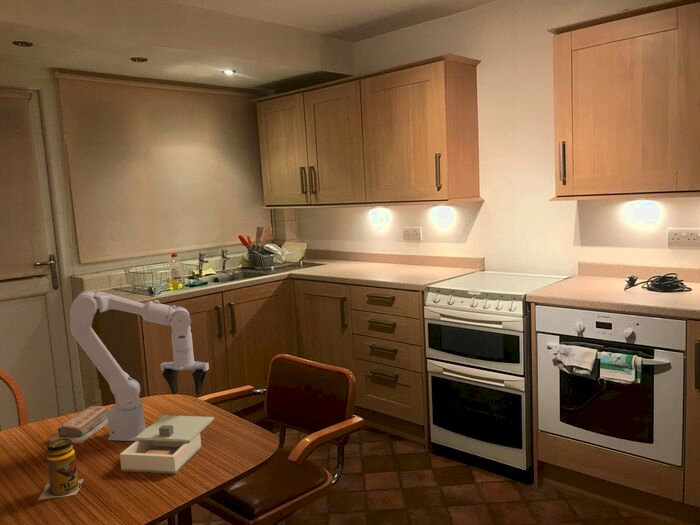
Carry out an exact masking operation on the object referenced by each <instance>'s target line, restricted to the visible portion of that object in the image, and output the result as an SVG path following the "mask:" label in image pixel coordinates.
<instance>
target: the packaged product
mask: <svg viewBox="0 0 700 525" xmlns="http://www.w3.org/2000/svg"><path fill="white" fill-rule="evenodd" d="M108 412H109V409H108V407H107V406H105V405H91V406H89V407H87V408H85V409H84V410H82V411H81V412H79V413H78V414H76V415H75V416H73V417H71V418H70V419H69V420H67V421H65V422H64V423H63V424H61V425H59V427H58V429H57V431H58V432H57V433H56V434H54V435H53V436H51V437H49V441H50V442H52V441H54V440H57V439H61V438H68V439H70V440H71V441H72V444H82V443H83V442H85V441H87V439H88V438H90V437H91V436H93V434H95V433H96V432H98V431H99V430H101V429H102V428H103V426H104V425H105V424H106V425H108ZM106 425H105V426H106Z"/></svg>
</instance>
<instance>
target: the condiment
mask: <svg viewBox="0 0 700 525" xmlns="http://www.w3.org/2000/svg"><path fill="white" fill-rule="evenodd" d="M73 447H74V446H73V443H72V441H71V440H70V439H68V438H61V439H57V440H54V441H52V442H51V441H50V442H49V443H48V444H47V445H46V448H47V456H46V462H47V463H46V464H47V470H48V478H49V483H46V485H45V487H44V489H43V491H42V492H41V494H40V496H39V497H38V499H37V501H41V500H47V499H53V498H56V499H57V498H62V497H68V496H75V495H78V492H79V491H80V489H81V486H82V484H83V481H84V478H81V479H79V474H78V467H77V460H76V459H77V458H76V451H75V449H74V448H73ZM79 483H80V484H81V483H82V484H81V486H80V488H79Z"/></svg>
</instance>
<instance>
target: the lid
mask: <svg viewBox="0 0 700 525" xmlns="http://www.w3.org/2000/svg"><path fill="white" fill-rule="evenodd" d="M214 420H215V417H214V416H193V415H167V414H166V415H163V416H161V417H160V418H158V419H157V420H156V421H154V422H153V423H152V424H150V426H148V427H146V428H147V429H146V430H144V431H143V432H142V433H140V434H139V435H138V436H137V437H135V439H136V440H156V441H179V442H190V441H191V440H192V439H193V438H195V437H196V436H197V435H198V434H199V433H200V434H201V432H202V431H203V430H204V429H205V428H206V427H207V426H209V424H210V423H212V422H213V421H214Z"/></svg>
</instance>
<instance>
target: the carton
mask: <svg viewBox="0 0 700 525" xmlns="http://www.w3.org/2000/svg"><path fill="white" fill-rule="evenodd" d="M201 449H202V440H201V432H200V433H199V434H198V435H197V436H196V437H195V438H193V439H192V440H191V441H190V442H179V441H156V440H137V441H134V442H133V443H132V444H131V445H129V446H128V447H127V448H126V449H124V450H123V451H122V452H120V454H119V460H120V468H121V471H122V472H130V471H131V472H132V473H133V472H134V473H135V472H136V473H148V472H150V473H149V474H152V473H153V474H165V475H166V474H168V475H169V474H170V475H177V473H178V472H180V470H182V469H183V468H184V467H185V466H186V464H188V462H189V461H191V459H192V458H193V457H195V456H196V454H197V453H198V452H200V450H201Z"/></svg>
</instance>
